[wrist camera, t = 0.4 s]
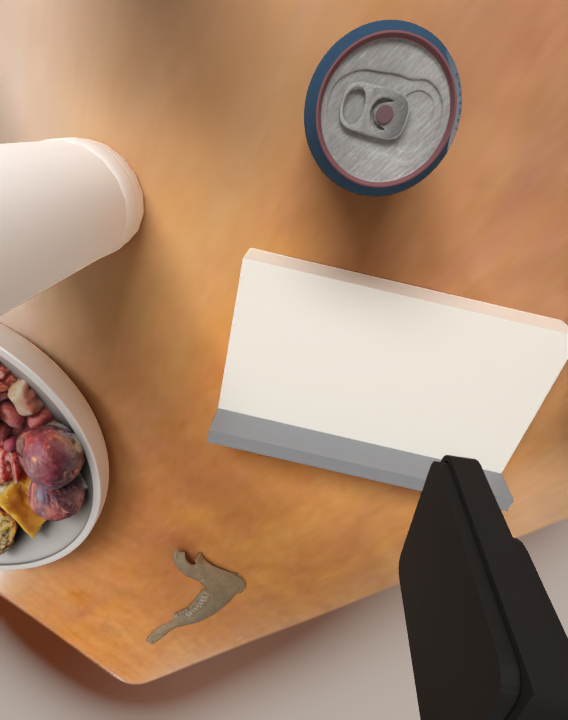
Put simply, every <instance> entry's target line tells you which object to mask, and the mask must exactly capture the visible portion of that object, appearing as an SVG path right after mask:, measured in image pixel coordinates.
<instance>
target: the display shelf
mask: <svg viewBox="0 0 568 720" xmlns="http://www.w3.org/2000/svg"><path fill="white" fill-rule="evenodd" d="M567 359H568V326H567V325H566V324H565V323H564V322H563V321H562V320H558V319H554V318H550V317H545V316H541V315H537V314H533V313H528V312H524V311H520V310H515V309H511V308H507V307H503V306H498V305H494V304H490V303H486V302H481V301H477V300H473V299H468V298H464V297H460V296H456V295H451V294H447V293H443V292H439V291H434V290H430V289H426V288H421V287H417V286H413V285H409V284H404V283H400V282H396V281H392V280H387V279H383V278H379V277H374V276H370V275H366V274H362V273H357V272H353V271H349V270H345V269H340V268H336V267H332V266H327V265H323V264H319V263H315V262H310V261H306V260H302V259H298V258H293V257H289V256H285V255H280V254H276V253H272V252H268V251H263V250H259V249H255V248H251V247H250V249H249V250H248V252H247V253H246V254H245V256H244V257H243V262H242V268H241V274H240V280H239V286H238V292H237V298H236V304H235V310H234V316H233V322H232V328H231V334H230V340H229V346H228V352H227V358H226V364H225V370H224V376H223V382H222V388H221V394H220V400H219V406H218V410H217V412H216V414H215V417H214V419H213V422H212V424H211V427H210V429H209V434H208V440H207V442H209V443H214V444H218V445H222V446H227V447H231V448H235V449H240V450H244V451H248V452H253V453H257V454H261V455H266V456H270V457H274V458H279V459H283V460H288V461H292V462H296V463H301V464H305V465H309V466H314V467H318V468H322V469H327V470H331V471H335V472H340V473H344V474H348V475H353V476H357V477H361V478H366V479H370V480H374V481H379V482H383V483H387V484H392V485H396V486H400V487H405V488H409V489H414V490H418V491H422V490H423V487H424V484H425V481H426V478H427V475H428V472H429V469H430V466H431V464H432V462H433V461H438V462H441V460H442V458H443V457H444V456H445V455H451V456H458V457H465V458H472V459H476V460H478V461H479V463H480V464H481V467H482V469H483V471H484V473H485V476H486V478H487V480H488V482H489V485H490V487H491V489H492V492H493V494H494V496H495V498H496V501H497V503H498V505H499V507H500V510H505V511H507V510H508V509H509V507H510V506H511V504H512V502H513V501H514V499H513V497H512V495H511V493H510V491H509V489H508V487H507V484H506V482H505V480H504V478H503V476H502V474H501V473H502V471H503V470H504V468H505V466H506V464H507V463H508V461H509V459H510V458H511V456H512V454H513V452H514V451H515V449H516V447H517V445H518V444H519V442H520V440H521V439H522V437H523V435H524V433H525V432H526V430H527V428H528V427H529V425H530V423H531V421H532V420H533V418H534V416H535V414H536V413H537V411H538V409H539V408H540V406H541V404H542V402H543V401H544V399H545V397H546V395H547V394H548V392H549V390H550V389H551V387H552V385H553V383H554V382H555V380H556V378H557V376H558V375H559V373H560V371H561V370H562V368H563V366H564V364H565V363H566V361H567Z"/></svg>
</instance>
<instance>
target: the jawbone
mask: <svg viewBox="0 0 568 720" xmlns="http://www.w3.org/2000/svg"><path fill="white" fill-rule="evenodd" d="M177 550H178V549H177V548H176V549H175V550H174V552H173V560H174V563H175V565H176V567H177V568H178V569H179V570H180V571H181V572H182V573H183V574H184V575H186V576H188V577H190V578H193V579H196V580H198V581H200V582H201V583H202V585H203V586H204V587H205V588H206V589H205V590H202V591H201V592H200V593H199V595H198V596H197V598H195V600H194V601H193V603H191V604H190V605H189V607H188V608H186V609H185V610H183V611H180V612H178V613H175V614H174V615H173V617H174V619H172V620H171V621H169V622H168V623H166V624H163V625H162V626H160V627H159V628H157V629H156V630H155V631H154V632H153V633H152V634H151V635H150V636H149V637H148V638H147V642H150V643H151V644H153V643H154V642H156V641H158V640H159V639H161V638H162V637H163V636H164V635H165V634H167V633H168V632H169V631H170V630H172V629H174V628H177V627H180V626H184V625H188V624H193V623H196V622H199V621H202V620H204V619H206V618H208V617H210V616H212V615H213V614H215V613H216V612H218V611H219V610H220V609H221V608H223V607H224V606H225V605H226V604H227V603H228V602H229V601H230V600H231V598H232V597H233V596H234V595H235V594H237V593H241V592H242V591H243V590H244V588H245V584H246V583H245V580H244V579H243V578H242V577H241V576H239V575H238V574H237V573H232V572H228V571H225V570H223V569H221V568H218V567H215V566H213V565H212V564H210V563H209V562H208V561H207V560H206V559H205V558H204V557H203V555H202V552H199V553H198V556H197V559H196V561H195V564H190V563H189V562H188V561H187V560H186V558H185V552H178V551H177ZM221 600H222V601H221Z"/></svg>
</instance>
